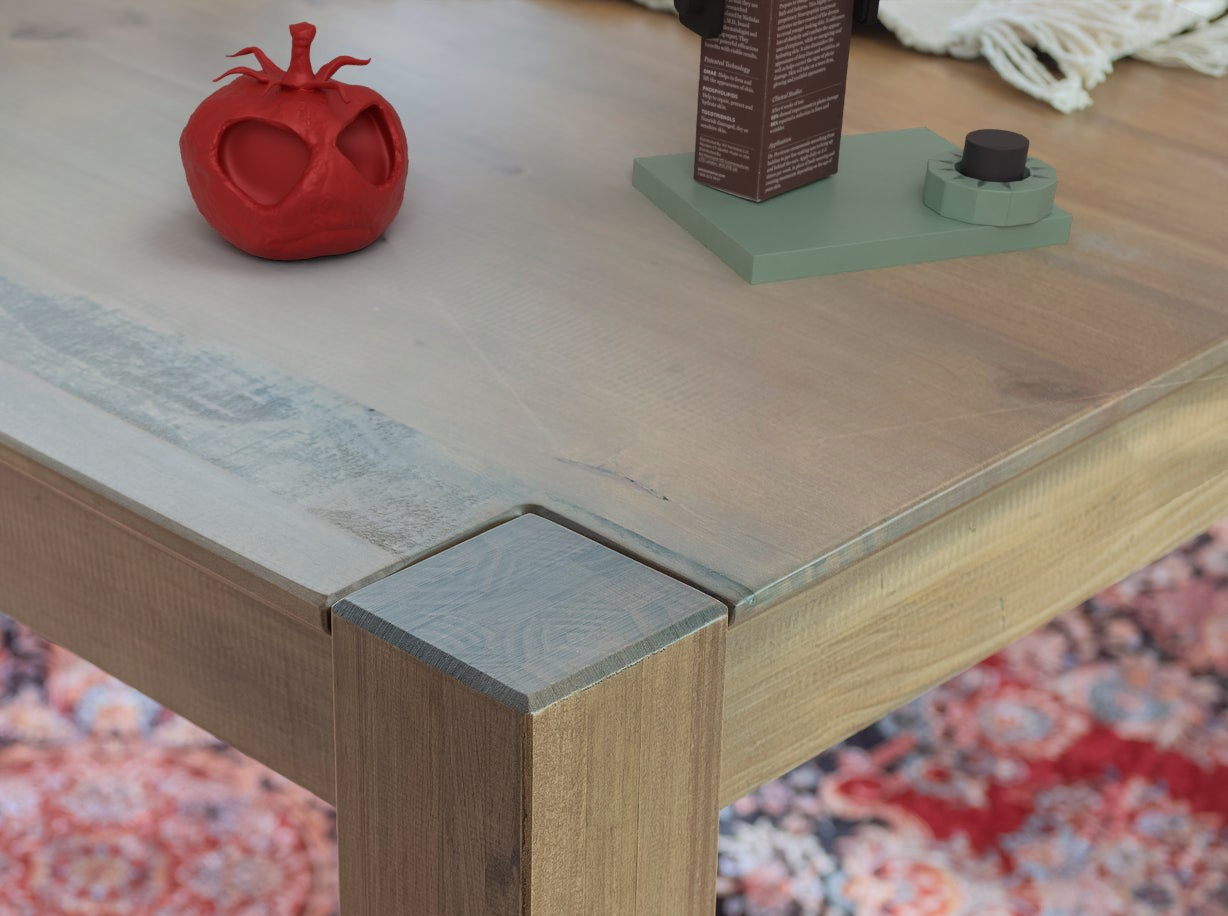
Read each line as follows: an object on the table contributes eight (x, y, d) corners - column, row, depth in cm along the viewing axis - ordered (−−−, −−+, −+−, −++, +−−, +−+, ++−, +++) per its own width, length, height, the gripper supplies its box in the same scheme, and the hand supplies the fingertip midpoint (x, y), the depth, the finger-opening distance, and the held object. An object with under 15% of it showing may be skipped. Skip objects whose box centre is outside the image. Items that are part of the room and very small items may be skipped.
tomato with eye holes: (169, 210, 89) (151, 2, 83) (376, 188, 91) (372, -14, 86) (213, 290, 81) (197, 67, 75) (437, 264, 84) (437, 47, 78)
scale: (921, 154, 96) (930, 94, 95) (1072, 248, 86) (1085, 183, 85) (631, 186, 92) (635, 124, 90) (754, 290, 82) (761, 222, 80)
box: (765, 153, 92) (793, -115, 85) (839, 177, 89) (874, -97, 82) (681, 181, 89) (703, -96, 82) (756, 207, 86) (785, -77, 79)
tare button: (1000, 164, 88) (1007, 126, 86) (1034, 184, 85) (1042, 145, 84) (947, 170, 87) (954, 132, 86) (980, 190, 85) (987, 151, 84)
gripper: (661, -436, 69) (631, 64, 80) (1070, -442, 74) (991, 30, 84) (583, -452, 75) (565, 17, 85) (967, -457, 80) (905, -12, 90)
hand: (777, 20), depth 85 cm, fingers closed on box, 7 cm apart
